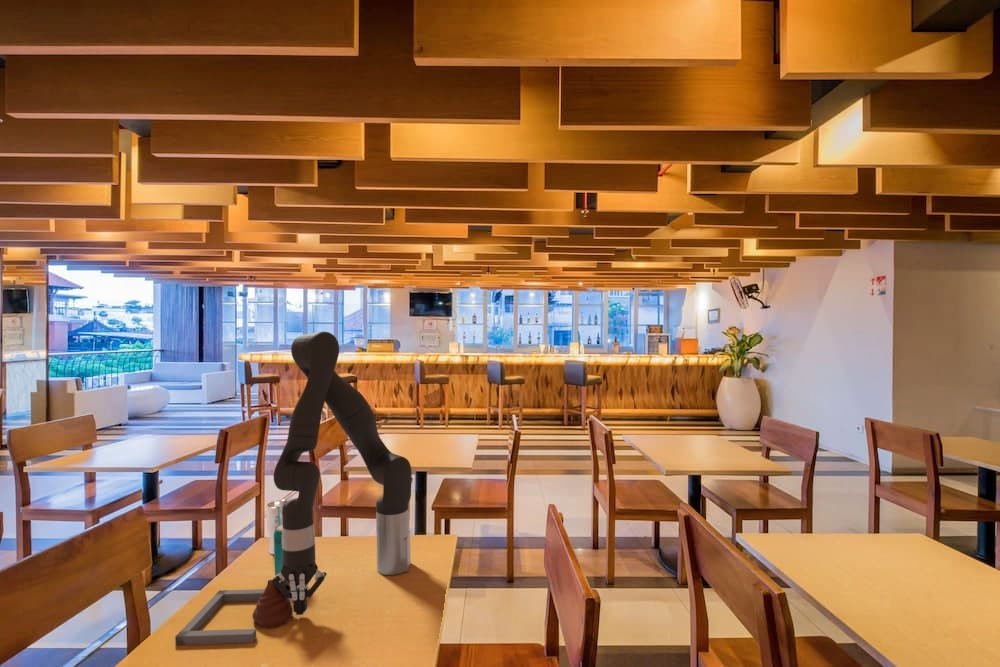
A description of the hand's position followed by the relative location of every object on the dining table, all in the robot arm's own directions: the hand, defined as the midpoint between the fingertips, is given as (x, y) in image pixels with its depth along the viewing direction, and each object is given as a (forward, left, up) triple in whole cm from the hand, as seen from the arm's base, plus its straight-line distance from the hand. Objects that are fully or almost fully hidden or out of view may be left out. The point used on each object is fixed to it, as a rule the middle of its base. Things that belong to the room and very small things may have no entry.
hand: (300, 612), depth 130 cm
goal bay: (+15, 0, -1) cm, 15 cm away
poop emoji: (+7, 0, -1) cm, 7 cm away
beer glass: (+19, -38, -1) cm, 43 cm away
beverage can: (+10, -19, -1) cm, 22 cm away
